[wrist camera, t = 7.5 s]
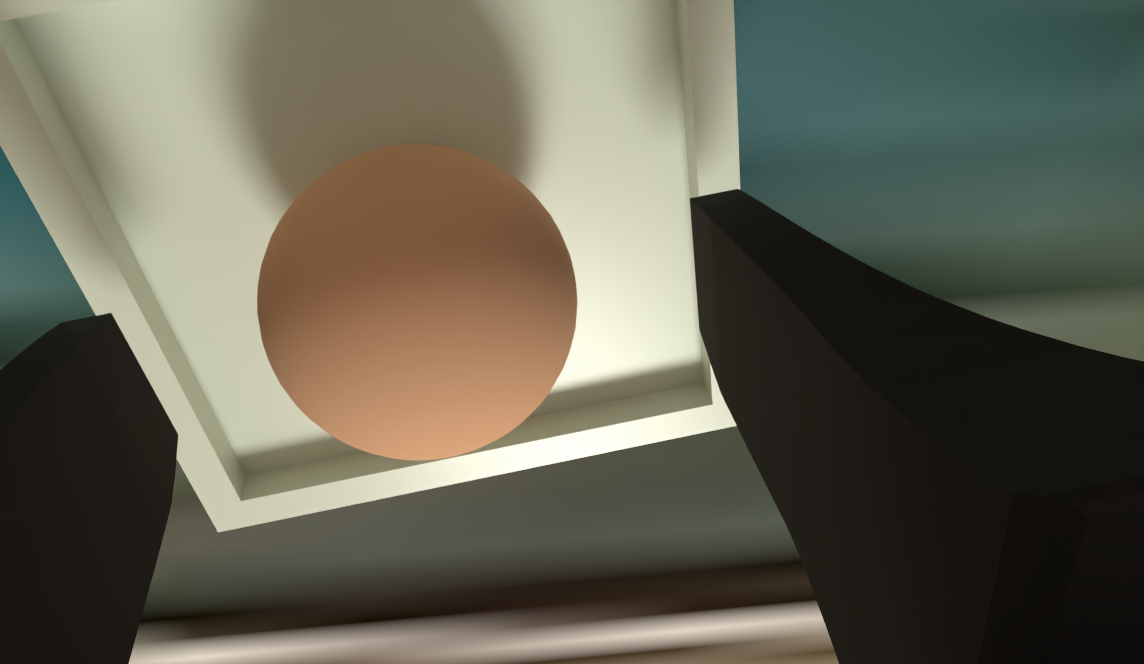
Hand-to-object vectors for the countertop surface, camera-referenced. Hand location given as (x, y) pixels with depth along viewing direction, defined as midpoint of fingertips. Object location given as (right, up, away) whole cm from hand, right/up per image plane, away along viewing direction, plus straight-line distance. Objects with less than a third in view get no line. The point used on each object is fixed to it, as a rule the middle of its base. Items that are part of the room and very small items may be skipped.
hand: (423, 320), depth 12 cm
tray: (0, +2, +2) cm, 3 cm away
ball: (0, +1, +2) cm, 2 cm away
